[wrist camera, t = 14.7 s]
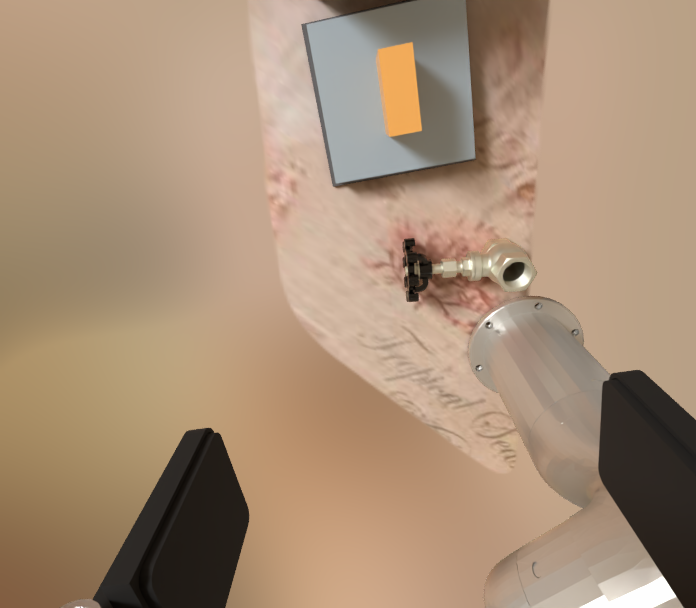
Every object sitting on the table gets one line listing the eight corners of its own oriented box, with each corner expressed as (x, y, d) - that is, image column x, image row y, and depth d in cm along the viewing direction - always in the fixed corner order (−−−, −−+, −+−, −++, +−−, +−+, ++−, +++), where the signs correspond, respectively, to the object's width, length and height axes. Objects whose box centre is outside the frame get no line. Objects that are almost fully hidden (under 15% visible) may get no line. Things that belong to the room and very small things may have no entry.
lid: (470, 156, 42) (493, 165, 34) (337, 180, 43) (331, 194, 36) (459, -4, 37) (484, -34, 29) (309, 29, 38) (296, 8, 31)
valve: (518, 221, 45) (401, 230, 45) (543, 238, 39) (407, 248, 39) (514, 281, 47) (403, 289, 48) (537, 306, 41) (409, 314, 42)
